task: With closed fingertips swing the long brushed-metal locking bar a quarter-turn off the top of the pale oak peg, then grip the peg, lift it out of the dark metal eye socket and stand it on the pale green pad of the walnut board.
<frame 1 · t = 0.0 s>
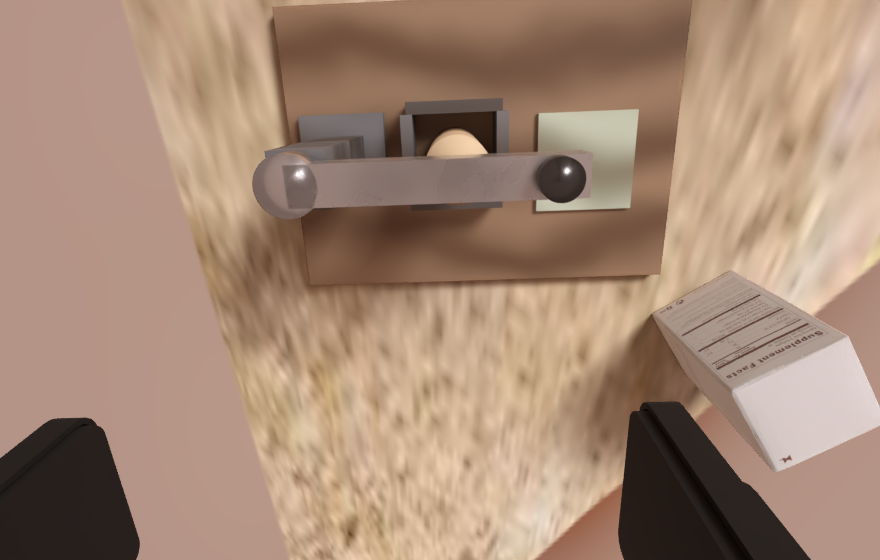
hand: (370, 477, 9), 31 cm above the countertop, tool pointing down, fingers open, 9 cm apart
locking bar: (421, 181, 23), point 15 cm above the countertop, hinge at 0.0°
eye board: (481, 150, 37), on the countertop
supplement box: (706, 322, 42), on the countertop
oak peg: (454, 152, 36), point 1 cm above the countertop, touching eye board
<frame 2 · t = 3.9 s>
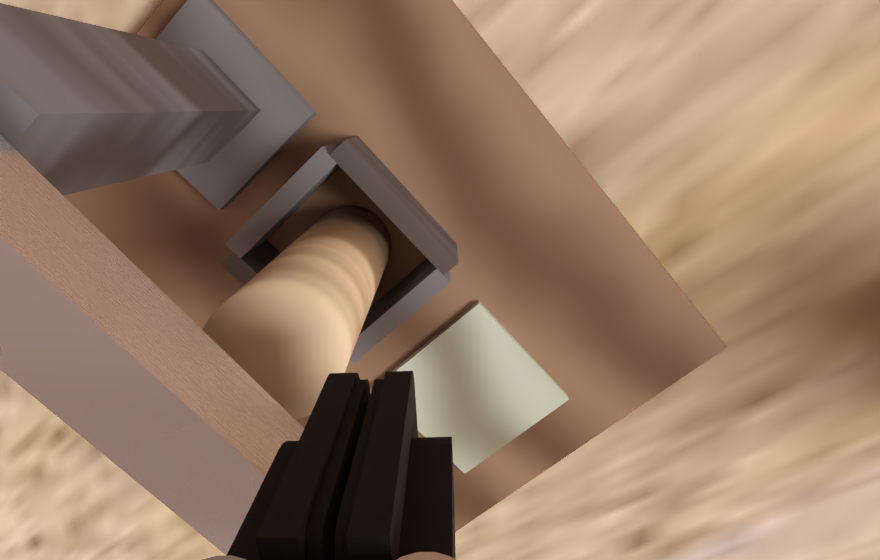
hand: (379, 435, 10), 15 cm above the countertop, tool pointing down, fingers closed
locking bar: (127, 391, 9), point 15 cm above the countertop, hinge at -3.8°, touching gripper
eye board: (385, 266, 24), on the countertop
oak peg: (352, 243, 23), point 1 cm above the countertop, touching eye board
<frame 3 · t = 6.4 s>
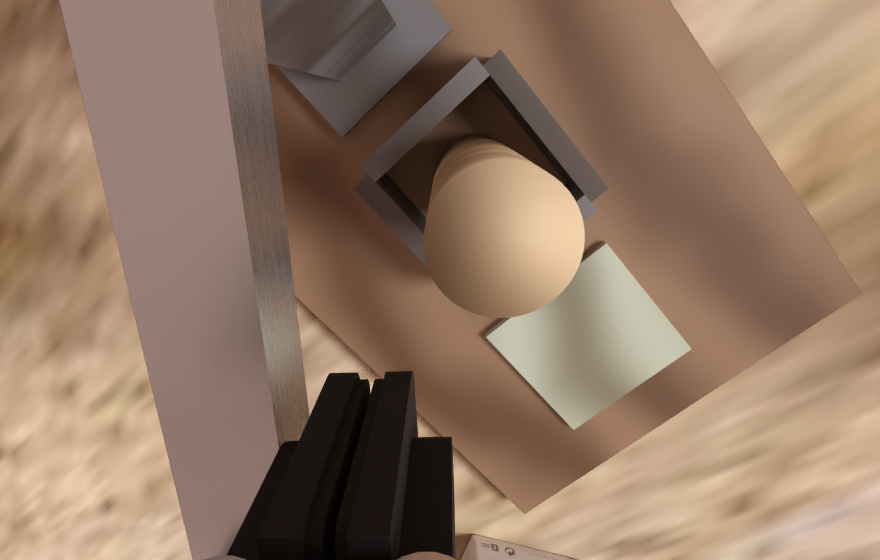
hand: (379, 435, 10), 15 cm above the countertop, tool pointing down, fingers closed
locking bar: (208, 307, 8), point 15 cm above the countertop, hinge at -41.0°, touching gripper
eye board: (502, 206, 23), on the countertop
oak peg: (475, 177, 21), point 1 cm above the countertop, touching eye board
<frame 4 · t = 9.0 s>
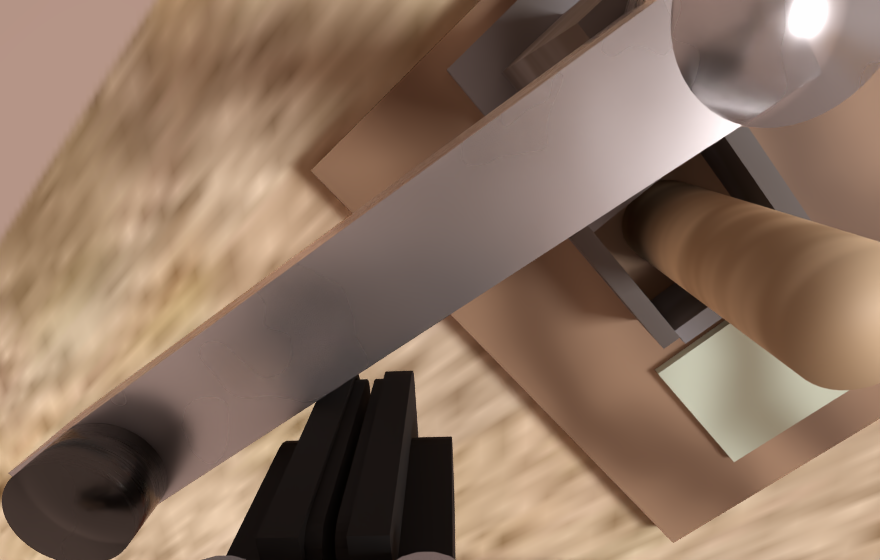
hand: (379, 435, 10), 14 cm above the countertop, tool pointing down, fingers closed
locking bar: (396, 267, 8), point 15 cm above the countertop, hinge at -96.8°, touching gripper
eye board: (676, 246, 23), on the countertop
oak peg: (663, 220, 22), point 1 cm above the countertop, touching eye board
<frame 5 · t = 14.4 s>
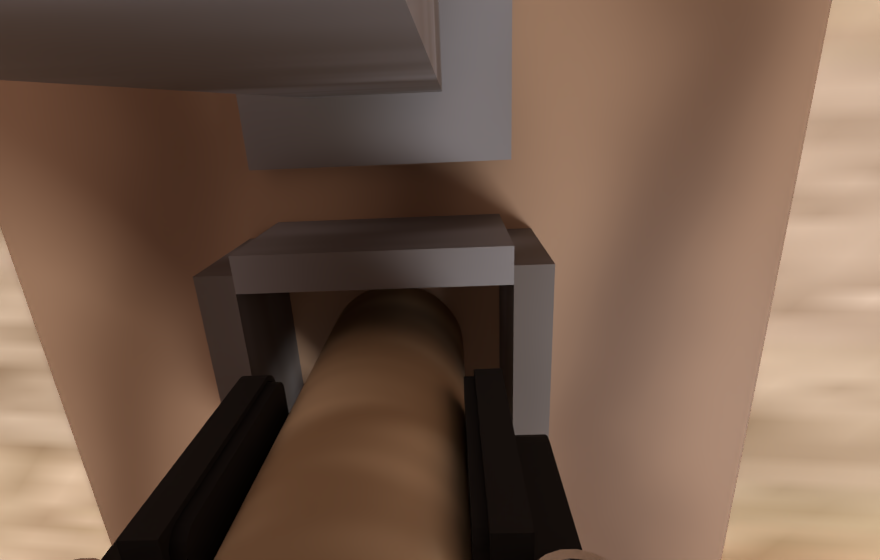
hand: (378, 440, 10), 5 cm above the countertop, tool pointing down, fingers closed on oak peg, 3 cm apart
eye board: (406, 385, 15), on the countertop
oak peg: (398, 345, 14), point 1 cm above the countertop, touching eye board, gripper
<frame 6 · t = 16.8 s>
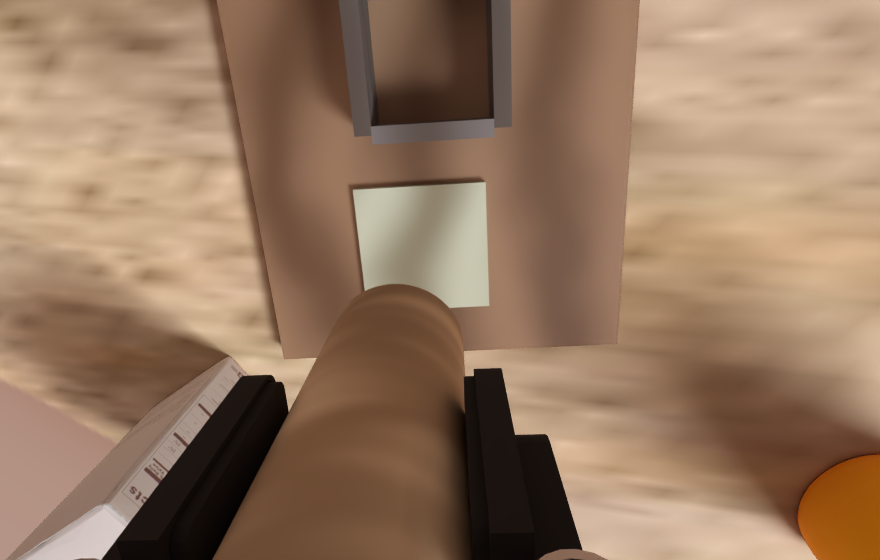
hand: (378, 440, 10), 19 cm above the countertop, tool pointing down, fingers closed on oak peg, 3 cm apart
eye board: (433, 104, 26), on the countertop
supplement box: (230, 417, 33), on the countertop
beer bottle: (858, 501, 34), on the countertop
oak peg: (398, 344, 14), point 15 cm above the countertop, touching gripper
when the fingers open (7 cm above the countertop, at t = 19.6 s): oak peg stays where it is, resting on eye board.
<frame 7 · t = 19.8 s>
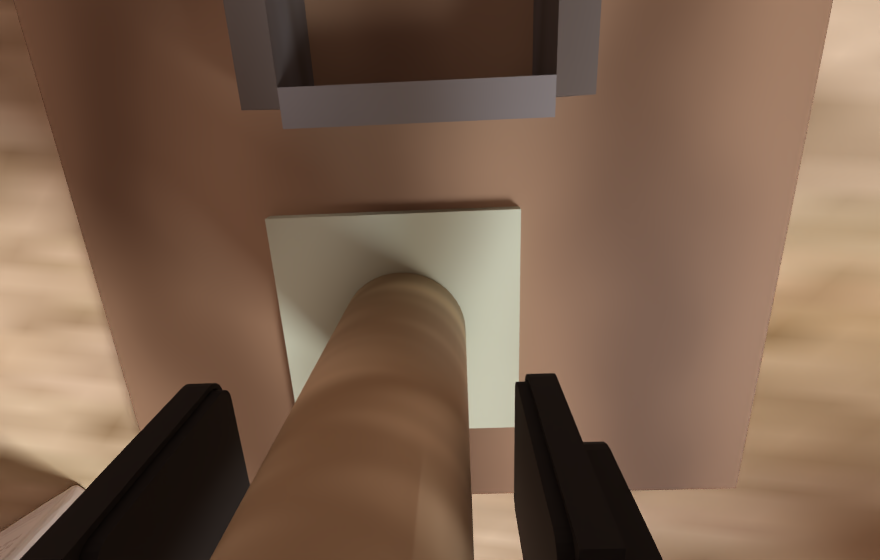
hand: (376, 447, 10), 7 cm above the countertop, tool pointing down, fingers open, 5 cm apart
eye board: (423, 57, 13), on the countertop
oak peg: (404, 330, 14), point 2 cm above the countertop, touching eye board
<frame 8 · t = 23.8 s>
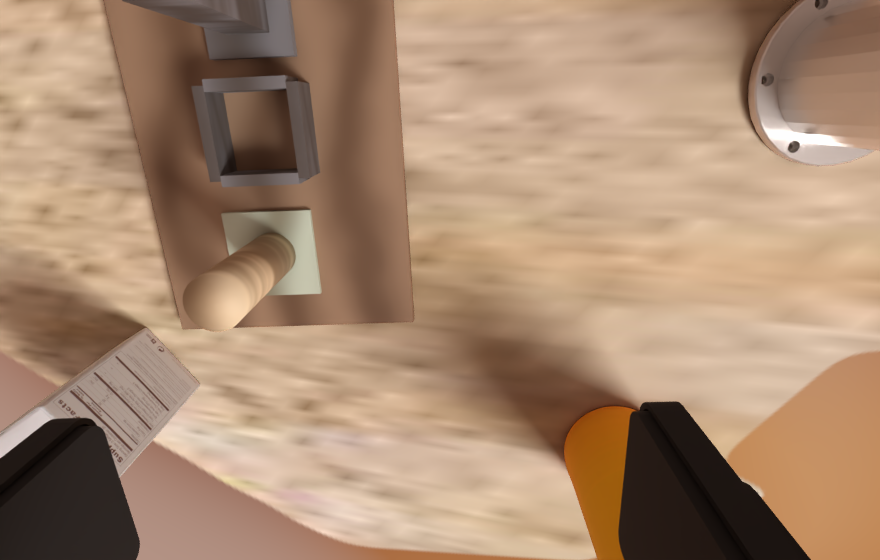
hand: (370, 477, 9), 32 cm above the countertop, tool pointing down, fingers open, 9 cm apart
eye board: (276, 157, 39), on the countertop
supplement box: (149, 373, 46), on the countertop
beer bottle: (609, 442, 47), on the countertop
oak peg: (273, 254, 40), point 2 cm above the countertop, touching eye board
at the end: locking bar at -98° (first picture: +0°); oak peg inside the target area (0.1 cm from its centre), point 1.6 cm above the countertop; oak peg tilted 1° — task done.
